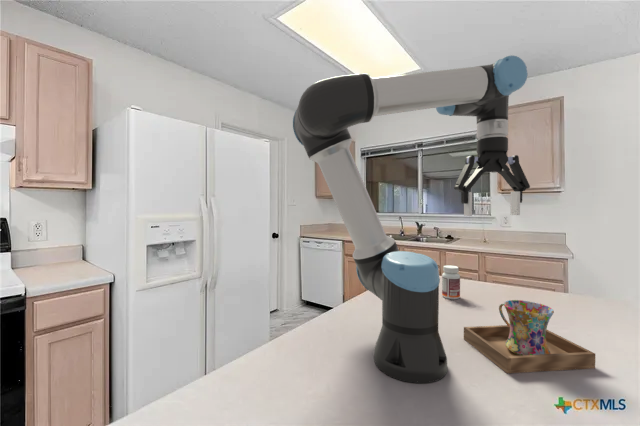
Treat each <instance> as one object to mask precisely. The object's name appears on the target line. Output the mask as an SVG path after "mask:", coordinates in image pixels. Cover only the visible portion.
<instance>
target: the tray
mask: <svg viewBox="0 0 640 426" xmlns="http://www.w3.org/2000/svg"><path fill="white" fill-rule="evenodd" d="M509 333H510V328H509V327H508V325H507V324H504V325H502V324H501V325H500V324H499V325H482V326H481V325H480V326H479V325H478V326H463V340H464V341H465V342H467V343H468V344H469V345H471V346H472V347H473V348H474V349H476V350H477V351H478V352H480V353H481V354H482V355H483V356H484V357H486V358H487V359H488V360H490V361H491V362H492V363H493V364H495V365H496V366H497V367H498V368H500V370H502V371H504V372H505V373H506V374H519V373H521V374H522V373H535V372H536V373H538V372H540V373H541V372H552V371H553V372H554V371H555V372H556V371H573V370H591V369H596V353H595V352H592V351H591V350H589V349H587V348H586V347H583V346H581V345H579V344H577V343H575V342H572V341H571V340H569V339H567V338H564V337H563V336H560V335H558V334H557V333H554V331H553V332H552V330H549V329H546V342H547V346H548V349H549V351H550V353H551V354H541V355H523V356H520V355H517V354H515V353H513V352H512V351H510V350H509V349H508V348H507V347H506V345H505V343H506V341H507V339H508V337H509Z"/></svg>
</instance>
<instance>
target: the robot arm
mask: <svg viewBox="0 0 640 426" xmlns="http://www.w3.org/2000/svg"><path fill="white" fill-rule="evenodd" d="M527 78H528V69H527V65H526V63H525V61H524V60H523V59H522V58H521V57H520V56H517V55H513V54H512V55H511V54H510V55H508V56H507V55H506V56H504V57H503V58H499V59H498V60H496V61H495V62H494V63H492V64H485V65H478V66H468V67H460V68H450V69H443V70H442V69H441V70H431V71H423V72H422V71H421V72H415V73H406V74H397V75H387V76H386V75H385V76H377V77H372V76H371V75H370V74H368V73H365V72H364V73H355V74H346V75H339V76H338V75H337V76H333V77H330V78H329V77H328V78H323V79H321V80H318V81H317V82H314V83H312V84H311V85H310V86H308V87H307V88H306V89H305V91H303V93H302V94H301V96H300V98H299V101H298V105H297V108H296V109H295V112H294V115H293V118H292V128H293V129H292V130H293V134H294V136H295V138H296V139H297V141H298V143H299V144H300V145H302V146H303V148H304V150H305V152H306V154H307V157H308V159H309V160H311V161H313V162H315V163H316V164H318V166H319V168H320V170H321V173H322V176H323V178H324V180H325V183H326V185H327V187H328V189H329V192H330V193H331V196H332V198H333V200H334V204H335V205H336V208H337V210H338V212H339V214H340V216H341V219H342V221H343V224H344V226H345V228H346V230H347V233H348V235H349V238H350V239H351V241H352V244H353V246H354V251H353V253H352V258H353V261H354V263H355V267H356V268H355V269H356V275H357V278H358V281H359V282H360V284H361V285H362V286H363V288H365V289H366V290H367V291H369V292H370V293H372V294H373V295H375V296H376V297H377V298H378V299H380V300H381V302H382V303H381V306H382V307H381V312H382V313H381V315H382V318H381V319H382V321H381V323H382V325H381V328H380V331H379V334H378V336H377V337H378V338H377V340H376V341H375V342H376V343H375V345H374V350H373V353H374V354H373V355H374V358H373V360H374V364H375V366H376V368H378V369H379V371H381V372H382V373H384V374H385V375H387V376H389V377H391V378H393V379H396V380H400V381H402V382H407V383H413V384H414V383H415V384H427V383H434V382H436V381H439V380H441V379H442V378H444V377H445V376H446V375H447V373H448V357H447V354H446V350H445V348H444V345H443V341H442V339H441V336H440V332H439V315H440V314H439V313H440V312H439V308H440V307H439V306H440V305H439V302H440V301H439V299H440V298H439V297H440V296H439V295H440V293H439V292H440V288H439V287H440V282H441V281H440V280H441V278H440V273H439V271H440V270H439V265H438V263H437V262H436V261H435V260H434V259H433V258H431V257H430V256H428V255H426V254H423V253H416V252H414V251H404V250H403V251H402V250H400V249H399V247H398V245H397V242H396V239H394V238H393V237H391V236H389V235H387V234H386V232H385V229H384V227H383V224H382V222H381V220H380V217H379V216H378V213H377V211H376V208H375V206H374V203H373V201H372V199H371V197H370V194H369V192H368V190H367V187H366V185H365V182H364V180H363V178H362V176H361V173H360V171H359V169H358V166H357V164H356V161H355V159H354V157H353V155H352V152H351V150H350V147H351V145H352V141H353V139H352V136H351V134H350V131H349V129H348V128H350V127H353V126H356V125H359V124H365V123H370V122H371V121H372V120H373V119H374V117H378V116H387V115H393V114H401V113H408V112H414V111H421V110H428V109H436V111H437V113H438V114H439V115H443V116H449V117H455V116H458V117H475V118H476V139H477V140H476V154H477V155H476V156H475V155H474V154H472V155H469V156H466V157H465V161H464V162H465V163H464V165H463V168H462V170H461V172H460V173H459V176H458V178H457V180H456V182H455V185H454V187H453V188H454V190H456V191H459V193H460V194H461V195H460V197H461V198H460V199H461V200H460V202H461V204H463V216H464V217H465V216H466V217H467V216H468V217H472V216H473V192H472V191H470V190H471V189H472V188H473V186H474V185H475V184H476V182H477V181H478V180H479V179H480V177H482V176H483V174H485V173H486V174H487V173H493V174H494V173H497V174H499V175H501V177H502V178H503V179H504V180H505V182H506V184H508V185H509V187H510V188H511V189H512V190H513V191H510V215H511V216H520V215H521V203H523V192H525V191H526V190H527V189H530V188H531V185H530V183H529V181H528V179H527V177H526V175H525V172H524V170H523V168H522V166H521V164H520V157H519V155H518V154H516V155H511V156H508V150H509V138H508V137H507V136H508V135H509V98H510V96H511V95H512V94H513V93H514V92H516V91H518V90H520V89H521V88H522V87H524V86H525V84H526V82H527ZM475 164H477V167H476V168H475V170H474V172H473V173H472V174H471V172H472V170H473V168H474V165H475ZM507 164H508V165H509V166H508V165H507ZM470 174H471V175H470ZM469 176H470V177H469Z"/></svg>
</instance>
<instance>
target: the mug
mask: <svg viewBox="0 0 640 426" xmlns="http://www.w3.org/2000/svg"><path fill="white" fill-rule="evenodd" d="M503 306H504V308H505V311H506V313H507V316H508V320H507V318H506V317H505V315H504V313H503ZM498 310H499V312H498V313H499V314H500V317H501V319H502V320H503V321H504V323H505V325H508V327H509V328H510V333H509V337H508V339H507V341H506V343H505V345H506V347H507V348H508V349H509V350H510V351H512V352H513V353H515V354H517V355H520V356H523V355H541V354H551V353H550V351H549V349H548V346H547V342H546V329H547V328H548V325H549V322H550V319H551V317H552V316H553V315H554V313H555V312H554V309H553V308H552V307H550V306H548V305H545V304H543V303H539V302H535V301H531V300H523V299H522V300H521V299H512V300H511V299H509V300H505V301H504V302H503V303H501V304H499V306H498ZM547 330H548V329H547Z"/></svg>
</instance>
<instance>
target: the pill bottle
mask: <svg viewBox="0 0 640 426" xmlns="http://www.w3.org/2000/svg"><path fill="white" fill-rule="evenodd" d="M442 267H443V269H442V270H443V273H442V275H441V295H442V297H443V298H445V299H450V300H457V299H460V298H461V275H460V274H459V271H460V270H459V269H460V268H459V266H457V265H450V264H449V265H443V266H442Z"/></svg>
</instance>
